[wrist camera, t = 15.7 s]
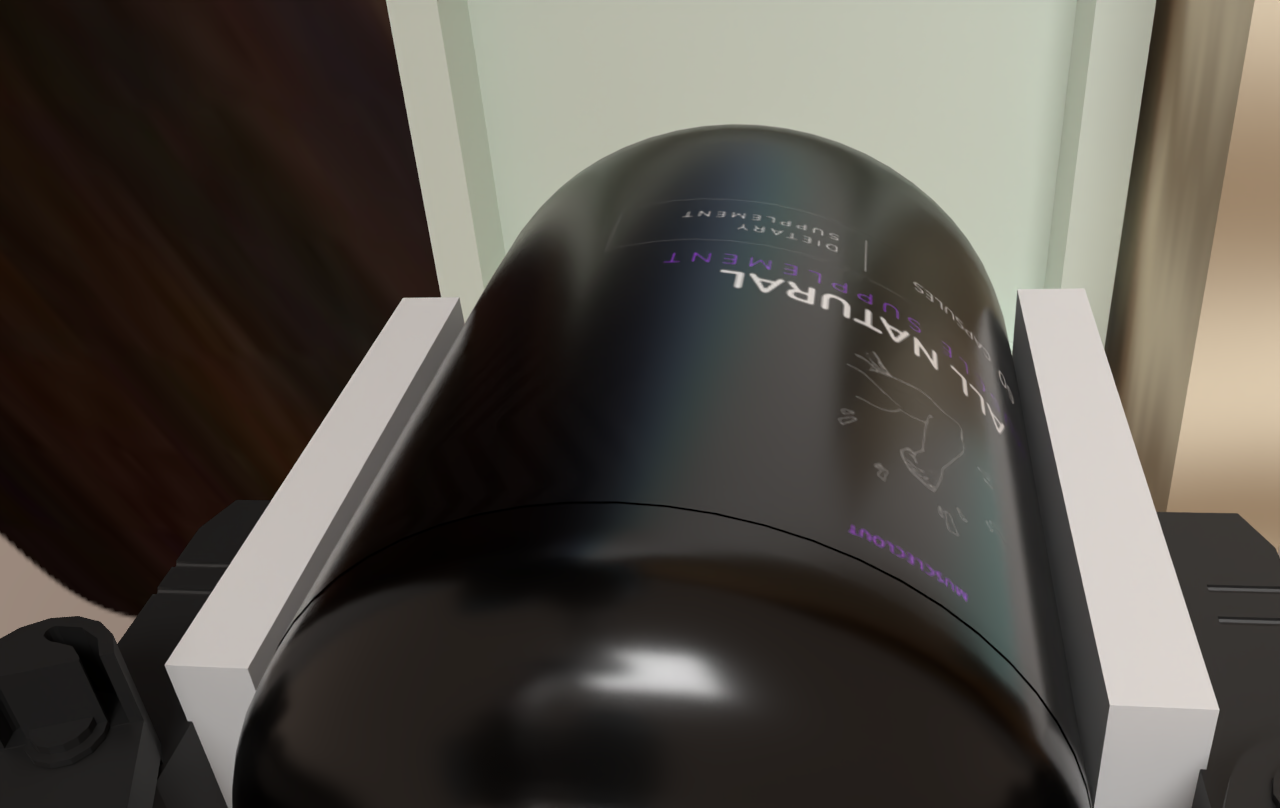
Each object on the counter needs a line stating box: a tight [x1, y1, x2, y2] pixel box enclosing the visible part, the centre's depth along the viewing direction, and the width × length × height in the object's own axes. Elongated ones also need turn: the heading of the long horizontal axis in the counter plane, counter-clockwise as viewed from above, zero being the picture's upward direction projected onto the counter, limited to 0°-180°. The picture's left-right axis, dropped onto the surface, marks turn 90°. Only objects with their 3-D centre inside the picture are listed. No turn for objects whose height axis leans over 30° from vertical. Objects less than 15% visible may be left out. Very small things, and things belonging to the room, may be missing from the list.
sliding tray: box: [386, 0, 1156, 353], centre depth 25 cm, size 14×14×2 cm
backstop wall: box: [1104, 0, 1280, 553], centre depth 21 cm, size 16×2×7 cm, turn 5°
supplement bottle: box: [232, 124, 1092, 808], centre depth 12 cm, size 7×7×12 cm
